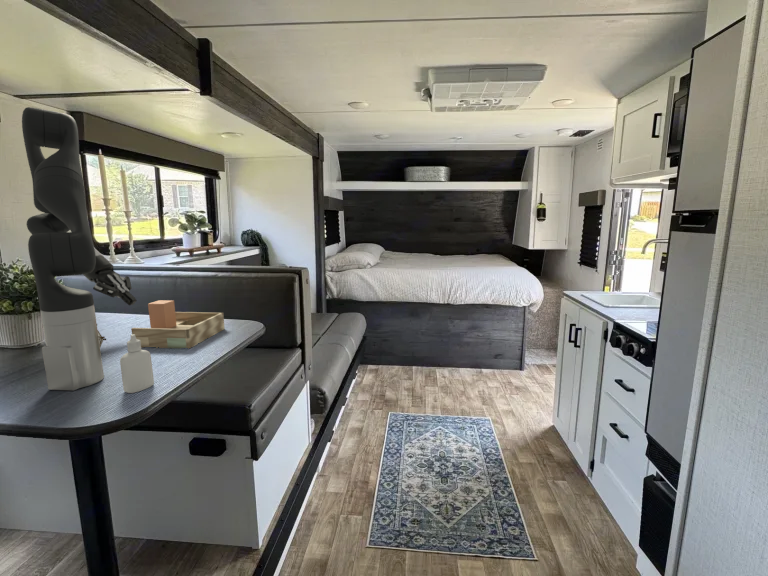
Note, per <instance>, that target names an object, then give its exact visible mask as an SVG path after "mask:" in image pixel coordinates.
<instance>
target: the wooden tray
mask: <svg viewBox="0 0 768 576" xmlns="http://www.w3.org/2000/svg"><path fill="white" fill-rule="evenodd" d="M175 315H176V325H177V326H175V327H172V328H170V329H167V328H151V327H132V328H131V335H133V334H135V337H136V339H138V340H140V342H141V348H144V347H156V348H155V349H181V348H188V349H187V350H189V348H190V349H191V347H192V348H193V347H195V346H197V345H198V343H199V344H200V343H202V342H204V341H206V340H208V339H209V338H211V337H213V336H214V335H216V334H218V333H220V332H222V331H224V330H225V317H224V312H201V311H200V312H199V311H198V312H197V311H175ZM207 338H208V339H207ZM205 339H206V340H205ZM158 347H159V348H158Z"/></svg>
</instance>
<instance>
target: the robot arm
mask: <svg viewBox="0 0 768 576" xmlns="http://www.w3.org/2000/svg"><path fill="white" fill-rule="evenodd" d="M21 128H22V137H23V142H24V143H23V144H24V147H25V153H26V157H27V161H28V165H29V166H28V167H29V170H30V174H31V180H32V194H33V195H32V196H33V205H34V207H35V208H36V209H37V210H38V212H41V213H40V214H36V215H32V216H30V217H29V218H28V219H26V227H27V228H26V229H27V230H28V232H29V233H30V234H31V235H30V236H29V239H28V241H27V242H28V244H27V246H28V247H27V249H28V254H29V260H30V264H31V268H32V272H33V275H34V280H35V286H36V291H37V297H38V304H39V311H40V317H41V323H42V328H43V334H44V335H43V336H44V342H45V345H44V346H42V347H41V352H42V358H43V364H44V369H45V377H46V382H47V389H48V390H52V391H53V390H54V391H76V390H78V389H81V388H84V387H88V386H89V387H90V386H92V385H95V384H97V383H99V382H101V381H103V380H104V377H105V372H104V366H103V359H102V351H101V347H100V344H99V337H98V331H99V330H98V323H97V316H96V310H95V309H96V307H95V301H94V295H93V292H91V291H88V290H86V289H79V288H74V287H69V286H67V285H64V284H62V283H60V282H58V280H56V279H55V278H56V277H68V276H69V277H70V276H79V275H80V276H81V275H83V276H84V277H85V278H86V279H87V280H88V281H89V282H92V283H95V285H94V286H93V287H92V290H94V291H96V292H98V293H101V294H104V295H106V296H108V297H111V298H115V297H117V298H119V299H121V300H122V301H123V302H124V303H125V304H127V305H128V306H133V305H134V304H136V302H137V298H136V297H135V296H134V295H133V294H132V293H130V291H131V290H132V288H133V286H132V282H131V278H130V277H129V276H128V275H127V276H125V277H123V276H121V275H120V274H119V273H118V272H116V271H115V270H114V264H112V263H111V262H110V261H109V260H108V259H107V258H106V257H105V256H104V255H103V254H102V253H100V251H98V250H97V249H96V248H95V246H94V241H93V236H92V232H91V228H90V223H89V218H88V214H87V212H88V211H87V202H86V200H87V199H86V190H85V181H84V178H83V177H84V176H83V173H82V167H81V166H82V165H81V160H80V144H79V143H80V142H79V140H80V139H79V137H80V136H79V128H78V124H77V122H76V120H75V119H74V117H73V116H71V115H70V114H67V113H64V112H59V111H54V110H50V109H49V110H48V109H45V108H38V107H31V106H28V107H25V108H24V109H23V111H22V115H21ZM42 148H48V149H55V150H57V151H56V152H54V153H53V154H50V155H49V156H48V157H46V158H45V156H44V154H43V151H42Z"/></svg>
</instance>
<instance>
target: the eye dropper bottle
mask: <svg viewBox="0 0 768 576" xmlns="http://www.w3.org/2000/svg"><path fill="white" fill-rule="evenodd" d="M126 346H127V352H126V353H125V354H123V355H122V356H121V357H120V359H119V362H120V363H119V364H120V372H121V380H122V386H123V387H122V388H123V391H124V392H125V393H126V394H134V393H138V392H141V391H144V390H147V389H149V388H151V387H152V386H154V384H155V380H154V372H153V371H154V370H153V361H152V356H151V352H150V351H148V350H146V349H142V347H141V342H140V340H138V339H136V337H135V334H133V335H132V334H130V339H129V340H128V341H127V342H126Z"/></svg>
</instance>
